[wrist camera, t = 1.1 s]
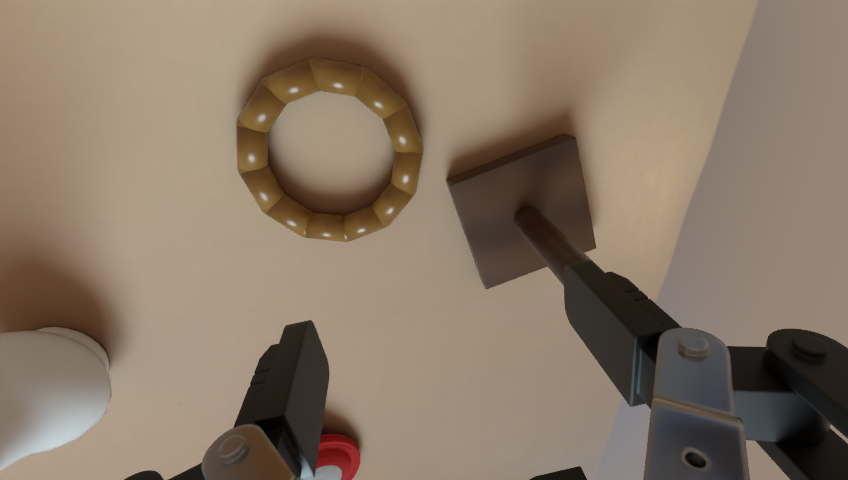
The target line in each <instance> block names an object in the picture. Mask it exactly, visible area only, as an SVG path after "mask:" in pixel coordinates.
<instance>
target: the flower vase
mask: <svg viewBox="0 0 848 480" xmlns="http://www.w3.org/2000/svg"><path fill="white" fill-rule="evenodd" d="M108 371H109V359H108V356H107V354H106V352H105V351H104V349H103V348H102V347H101V346H100V344H98V343H97V342H96V341H95V340H93V339H92V338H91V337H89V336H87V335H85V334H83V333H81V332H78V331H75V330H72V329H68V328H61V327H45V328H41V329H38V330H34V331H13V332H6V333H2V334H0V471H2V470H3V469H5V468H6V467H8V466H9V465H11V464H13V463H14V462H16V461H18V460H20V459H22V458H24V457H26V456H28V455H33V454H37V453H41V452H45V451H48V450H52V449H55V448H58V447H61V446H63V445H65V444H67V443H69V442H71V441H73V440H75V439H76V438H78V437H80V436H82V435H83V434H85V433H86V432H87V431H88V430H90V429H91V428H92V427H93V426H94V425H95V424H96V423H97V422H98V421H99V420H100V419H101V418H102V417H103V415H104V414H105V413H106V410H107V408H108V405H109V403H110V400H111V395H112V392H111V379H110V376H109V373H108Z"/></svg>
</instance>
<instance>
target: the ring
mask: <svg viewBox="0 0 848 480" xmlns="http://www.w3.org/2000/svg"><path fill="white" fill-rule="evenodd" d="M317 91H325V92H331V93H337V94H343V95H349V96H355V97H356V98H357V99H359V100H360V101H361V102H362V103H363V104H365V105H366V106H367V107H368V108H370V109H371V110H372V111H373V112H375V113H376V114H377V115H378V116H379V117H381V118H382V119H383V121H384V123H385V126H386V128H387V131H388V133H389V136H390V138H391V141H392V143H393V146H394V148H395V158H394V165H393V172H392V179H391V182H390V184H389V185H388V186H387V187H386V189H385V190H384V191H383V192H382V194H381V195H380V196H379V197H378V199H377V200H376V201H375V202H374V204H373V205H371V206H368V207H366V208H363V209H361V210H358V211H356V212H353V213H350V214H348V215H345V216H340V215H331V214H322V213H314V212H311V211H309V210H308V209H306V208H305V207H303V206H302V205H300V204H299V203H297V202H296V201H294V200H293V199H291V198H290V197H288V196H287V195H285V194H284V192H283V191H282V189H281V187H280V185H279V183H278V182H277V180H276V178H275V176H274V175H273V173H272V171H271V169H270V167H269V166H268V131H269V130H270V128H271V127H272V125H273V124H274V122H275V121H276V119H277V118H278V116H279V115H280V113H281V112H282V110H283V109H284V107H285V106H286V104H287V103H290V102H292V101H295V100H297V99H300V98H302V97H304V96H307V95H309V94H312V93H314V92H317ZM236 125H237V167H238V171H239V174H240V175H241V177H242V179H243V180H244V182H245V184H246V185H247V187H248V188H249V190H250V192H251V193H252V195H253V197H254V198H255V200H256V202H257V203H258V205H259V207H260V208H261V210H262V211H263V212H264V213H265V214H266V215H268V216H270V217H271V218H273V219H274V220H276V221H278V222H279V223H281V224H282V225H284V226H286V227H287V228H289V229H290V230H292V231H294V232H295V233H297V234H298V235H300V236H302V237H305V238H314V239H323V240H333V241H342V242H349V241H352V240H354V239H357V238H360V237H362V236H365V235H367V234H370V233H372V232H375V231H378V230H380V229H383V228H385V227H387V226H389V225H390V224H391V222H392V221H393V220H394V219H395V218H396V216H397V215H398V214H399V213H400V212H401V210H402V209H403V208H404V207H405V206H406V204H407V203H408V202H409V201H410V200H411V198H412V197H413V196H414V195H415V193H416V190H417V184H418V178H419V173H420V167H421V161H422V155H423V145H422V142H421V139H420V136H419V134H418V131H417V128H416V125H415V123H414V120H413V117H412V115H411V112H410V109H409V106H408V104H407V102H406V100H405V99H404V98H402V97H401V96H400V95H399V94H398V93H397V92H395V91H394V90H393V89H392V88H391V87H390V86H388V85H387V84H386V83H385V82H384V81H383V80H381V79H380V78H379V77H378V76H377V75H376V74H374V73H373V72H372V71H371V70H370V69H368V68H367V67H365V66H361V65H356V64H350V63H345V62H339V61H334V60H328V59H323V58H317V57H311V58H308V59H306V60H303V61H301V62H299V63H296V64H294V65H291V66H289V67H286V68H284V69H282V70H279V71H277V72H274V73H272V74H270V75H267V76H266V77H264V78H263V79H262V80H261V82H260V84H259V85H258V87H257V88H256V90H255V92H254V93H253V95H252V96H251V98H250V99H249V101H248V103H247V104H246V106H245V107H244V109H243V110H242V112H241V114H240V115H239V117H238V119H237V124H236Z"/></svg>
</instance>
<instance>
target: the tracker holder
mask: <svg viewBox="0 0 848 480" xmlns="http://www.w3.org/2000/svg"><path fill="white" fill-rule="evenodd" d="M359 465H360V453H359V450H358V447H357V445H356V443H355V442H354V441H353V440H352V439H351V438H349V437H347V436H345V435H341V434H325V435H321V438H320V444H319V451H318V458H317V465H316V472H315V477H313V478H309V479H305V480H352V479H353V477H354V476H355V474H356V472H357V470H358V468H359Z"/></svg>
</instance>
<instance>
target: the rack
mask: <svg viewBox="0 0 848 480" xmlns="http://www.w3.org/2000/svg"><path fill="white" fill-rule="evenodd" d="M446 182H447V185H448V188H449V191H450V193H451V196H452V199H453V202H454V205H455V207H456V210H457V213H458V216H459V219H460V221H461V224H462V227H463V230H464V233H465V236H466V238H467V241H468V244H469V247H470V250H471V252H472V255H473V258H474V261H475V264H476V266H477V269H478V272H479V275H480V278H481V280H482V282H483V285H484V287H485V289H488V288H491V287H494V286H496V285H499V284H502V283H504V282H507V281H510V280H512V279H515V278H518V277H520V276H523V275H526V274H528V273H531V272H534V271H537V270H539V269H542V268H545V267H547V266H548V267H549V268H550V270H551V271H552V272H553V273H554V275H555V276H556V277H557V278H558V279H559V281H560V282H561V283H562V284H563V286H564V267H565V265H568V264H572V263H577V262H582V261H586V260H591V259H590V258H589V257H588V256H587V255H586V254H585V252H587V251H590V250H593V249H595V248H596V244H595V238H594V233H593V228H592V222H591V217H590V212H589V207H588V201H587V196H586V191H585V185H584V180H583V175H582V169H581V164H580V159H579V153H578V148H577V143H576V138H575V137H574V136H571V135H569V134H566V133H565V134H563V135H560V136H557V137H555V138H552V139H550V140H547V141H545V142H542V143H540V144H537V145H534V146H532V147H529V148H527V149H524V150H522V151H519V152H517V153H514V154H511V155H509V156H506V157H504V158H501V159H499V160H496V161H494V162H491V163H488V164H486V165H483V166H481V167H478V168H476V169H473V170H470V171H468V172H465V173H463V174H460V175H458V176H455V177H453V178H450V179H447V180H446ZM591 261H592V260H591ZM601 270H602V269H601ZM602 271H603V270H602ZM603 272H604V271H603ZM604 273H605V272H604Z"/></svg>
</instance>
